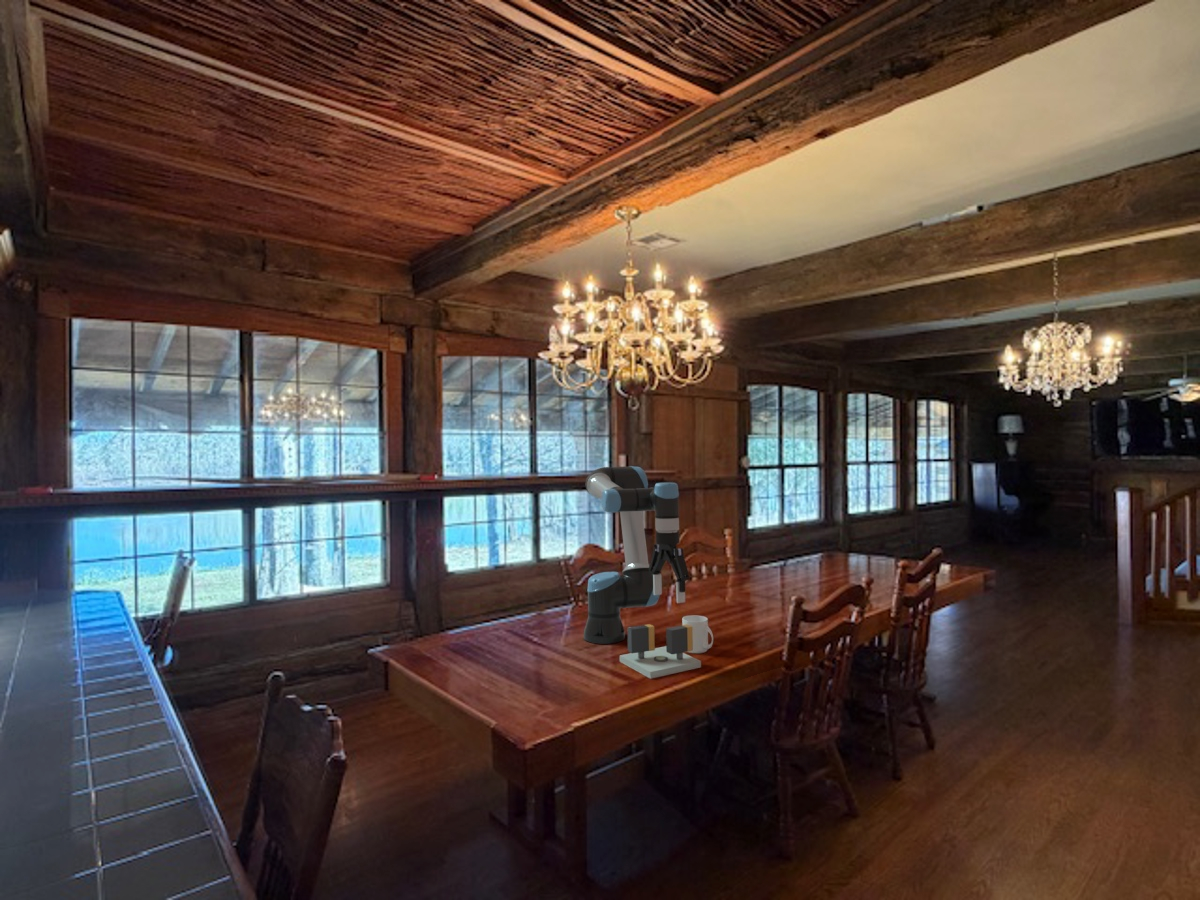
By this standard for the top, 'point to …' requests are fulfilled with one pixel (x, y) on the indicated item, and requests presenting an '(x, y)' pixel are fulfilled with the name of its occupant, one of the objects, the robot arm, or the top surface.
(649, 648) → the knob
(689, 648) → the knob
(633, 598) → the robot arm
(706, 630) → the mug
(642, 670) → the base plate
